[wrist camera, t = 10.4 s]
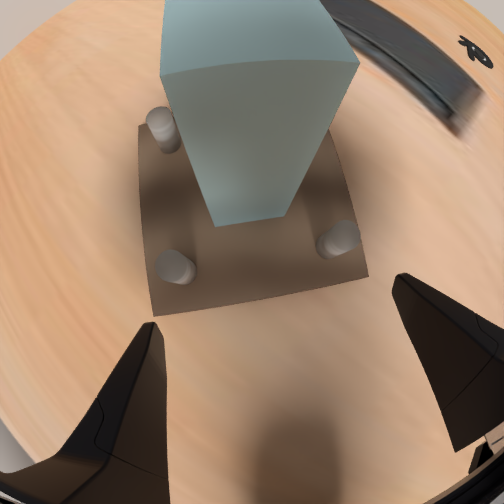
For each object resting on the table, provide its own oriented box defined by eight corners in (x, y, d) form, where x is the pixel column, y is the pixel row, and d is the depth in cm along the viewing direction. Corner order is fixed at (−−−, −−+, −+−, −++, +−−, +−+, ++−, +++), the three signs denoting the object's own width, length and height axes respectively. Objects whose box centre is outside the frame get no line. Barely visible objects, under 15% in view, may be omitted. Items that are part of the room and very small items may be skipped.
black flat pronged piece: (476, 68, 25) (478, 66, 24) (446, 35, 26) (447, 32, 25) (495, 70, 26) (497, 68, 25) (469, 39, 27) (471, 37, 26)
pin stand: (361, 278, 19) (395, 271, 14) (158, 315, 18) (132, 320, 13) (314, 108, 21) (327, 70, 16) (143, 133, 20) (123, 98, 15)
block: (284, 216, 18) (360, 62, 5) (215, 227, 18) (160, 76, 5) (270, 155, 18) (305, -16, 6) (206, 164, 18) (166, -7, 5)
